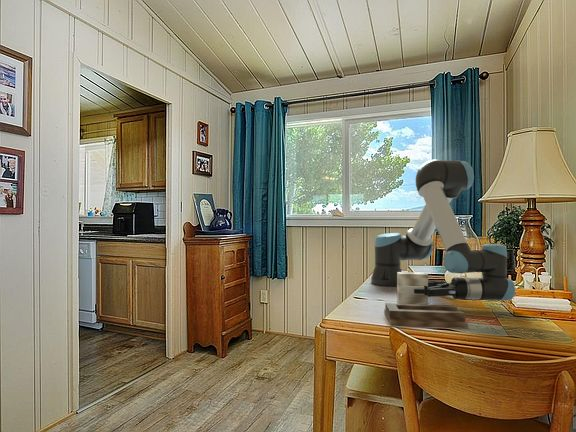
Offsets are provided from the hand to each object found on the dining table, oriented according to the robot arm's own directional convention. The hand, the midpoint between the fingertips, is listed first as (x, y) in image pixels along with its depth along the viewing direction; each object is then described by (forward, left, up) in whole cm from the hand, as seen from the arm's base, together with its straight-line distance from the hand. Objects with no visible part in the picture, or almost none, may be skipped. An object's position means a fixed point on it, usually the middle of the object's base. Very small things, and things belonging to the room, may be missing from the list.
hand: (400, 286), depth 134 cm
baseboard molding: (-40, -8, -8) cm, 42 cm away
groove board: (+4, +16, -7) cm, 18 cm away
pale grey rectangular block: (-4, +2, -7) cm, 8 cm away
